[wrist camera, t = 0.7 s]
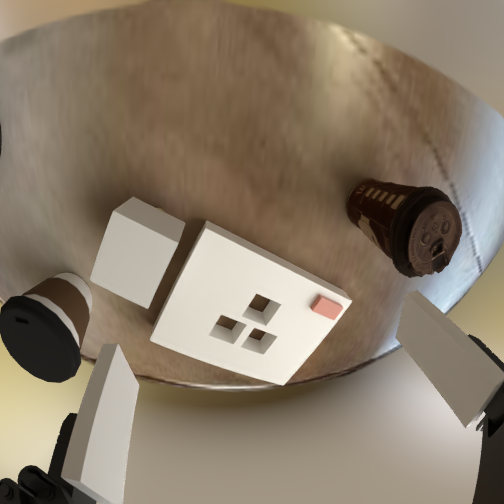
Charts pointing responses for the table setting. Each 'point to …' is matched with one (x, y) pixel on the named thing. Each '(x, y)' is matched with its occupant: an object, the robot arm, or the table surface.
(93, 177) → the table surface
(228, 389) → the table surface
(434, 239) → the coffee cup
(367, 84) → the table surface
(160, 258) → the plug
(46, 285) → the coffee cup
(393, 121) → the table surface
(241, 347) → the socket plate
